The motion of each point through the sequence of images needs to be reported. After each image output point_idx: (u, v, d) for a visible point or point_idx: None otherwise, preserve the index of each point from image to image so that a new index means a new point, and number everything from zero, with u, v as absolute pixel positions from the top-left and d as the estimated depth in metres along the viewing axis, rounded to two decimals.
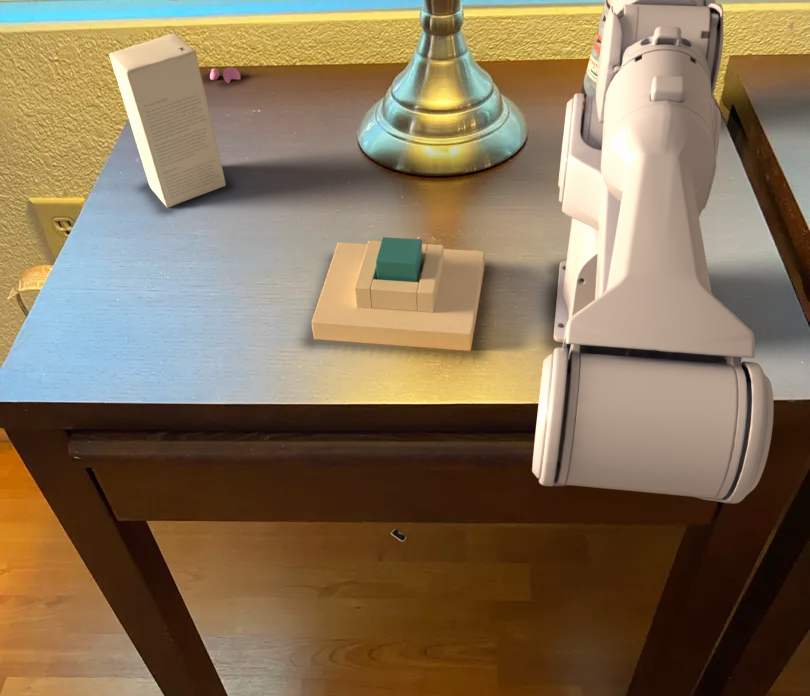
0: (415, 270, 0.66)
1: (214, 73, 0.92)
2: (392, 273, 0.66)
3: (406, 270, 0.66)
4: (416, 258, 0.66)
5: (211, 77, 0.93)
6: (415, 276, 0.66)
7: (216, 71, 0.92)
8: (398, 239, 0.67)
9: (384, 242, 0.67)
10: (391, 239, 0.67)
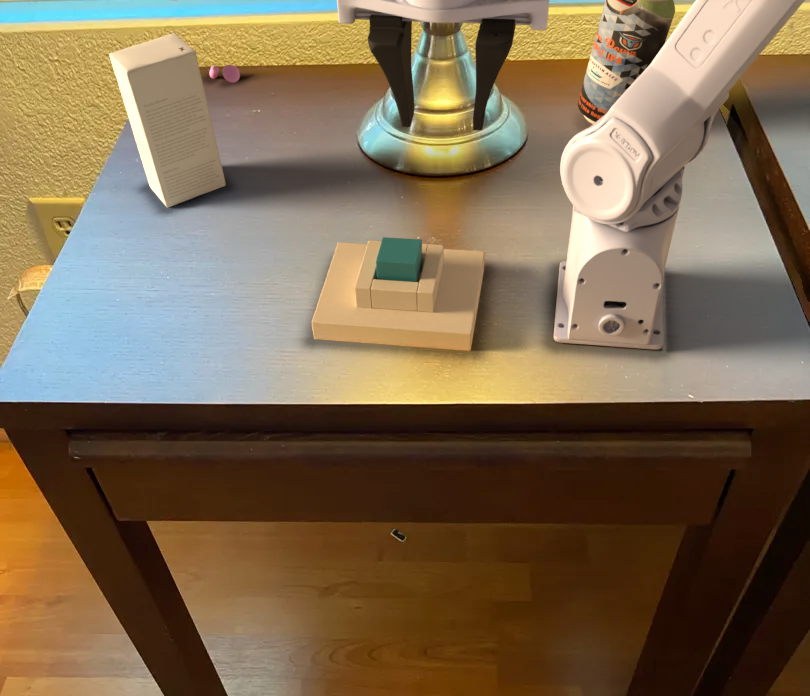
0: (415, 270, 0.66)
1: (214, 70, 0.92)
2: (392, 273, 0.66)
3: (406, 270, 0.66)
4: (416, 258, 0.66)
5: (210, 74, 0.92)
6: (415, 276, 0.66)
7: (215, 68, 0.92)
8: (398, 239, 0.67)
9: (384, 242, 0.67)
10: (391, 239, 0.67)
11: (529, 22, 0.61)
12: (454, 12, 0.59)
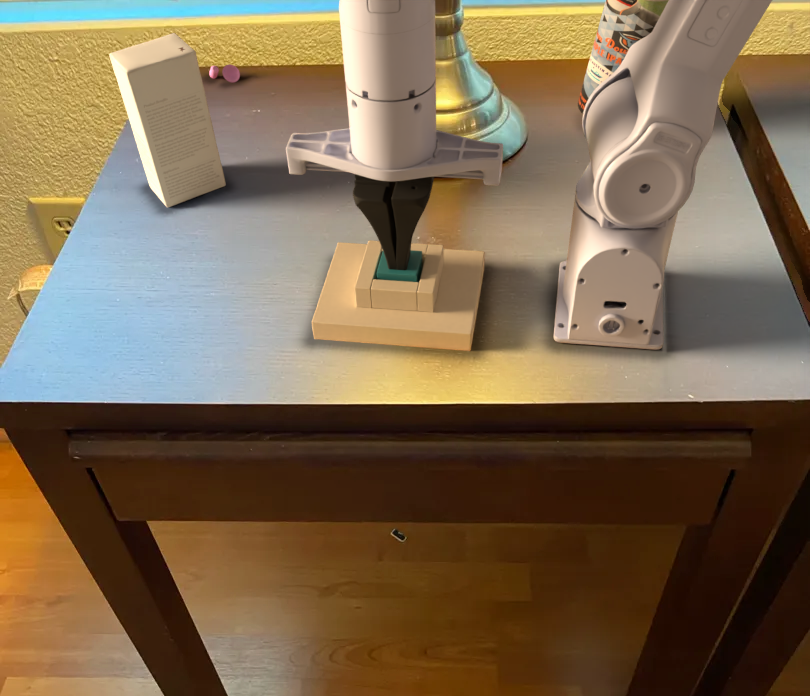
0: (415, 281, 0.66)
1: (214, 70, 0.92)
2: None
3: None
4: (416, 269, 0.66)
5: (210, 74, 0.92)
6: None
7: (215, 68, 0.92)
8: None
9: None
10: None
11: (482, 177, 0.60)
12: (404, 172, 0.58)
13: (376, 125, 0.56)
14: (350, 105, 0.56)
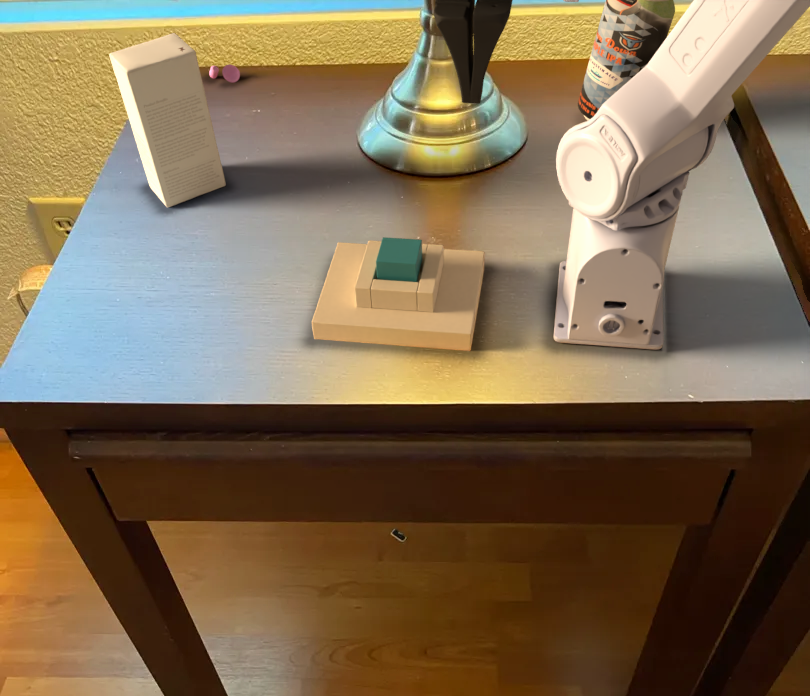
0: (415, 270, 0.66)
1: (214, 70, 0.92)
2: (392, 273, 0.66)
3: (406, 270, 0.66)
4: (416, 258, 0.66)
5: (210, 74, 0.92)
6: (415, 276, 0.66)
7: (215, 68, 0.92)
8: (398, 239, 0.67)
9: (384, 242, 0.67)
10: (391, 239, 0.67)
11: None
12: None
13: None
14: None
